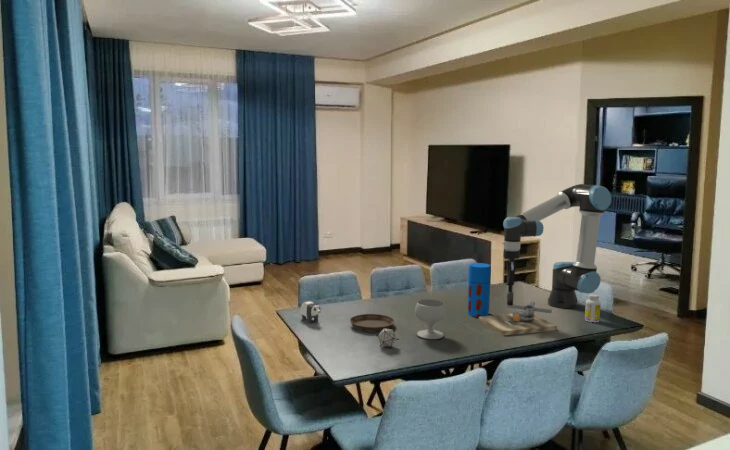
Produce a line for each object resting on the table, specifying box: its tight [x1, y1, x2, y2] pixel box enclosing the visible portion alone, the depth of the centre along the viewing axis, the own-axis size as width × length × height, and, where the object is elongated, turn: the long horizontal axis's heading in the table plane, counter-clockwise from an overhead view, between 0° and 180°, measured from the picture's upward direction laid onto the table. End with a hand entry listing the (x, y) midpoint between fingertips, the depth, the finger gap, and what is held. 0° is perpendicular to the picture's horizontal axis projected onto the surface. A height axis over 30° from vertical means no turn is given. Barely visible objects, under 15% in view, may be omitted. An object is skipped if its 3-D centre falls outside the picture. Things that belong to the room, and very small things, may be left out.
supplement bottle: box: [584, 293, 602, 323], centre depth 265 cm, size 7×7×13 cm
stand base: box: [478, 313, 558, 336], centre depth 258 cm, size 28×22×2 cm
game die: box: [375, 327, 399, 350], centre depth 229 cm, size 9×8×10 cm
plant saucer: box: [349, 313, 395, 333], centre depth 255 cm, size 21×21×3 cm
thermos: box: [466, 262, 492, 318], centre depth 274 cm, size 11×11×25 cm
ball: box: [513, 314, 521, 322], centre depth 255 cm, size 4×4×4 cm
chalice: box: [414, 298, 448, 340], centre depth 242 cm, size 14×14×15 cm
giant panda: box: [300, 301, 322, 324], centre depth 261 cm, size 15×6×10 cm, turn 33°
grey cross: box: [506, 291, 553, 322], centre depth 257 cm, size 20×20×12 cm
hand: (509, 297), depth 265 cm, fingers closed
